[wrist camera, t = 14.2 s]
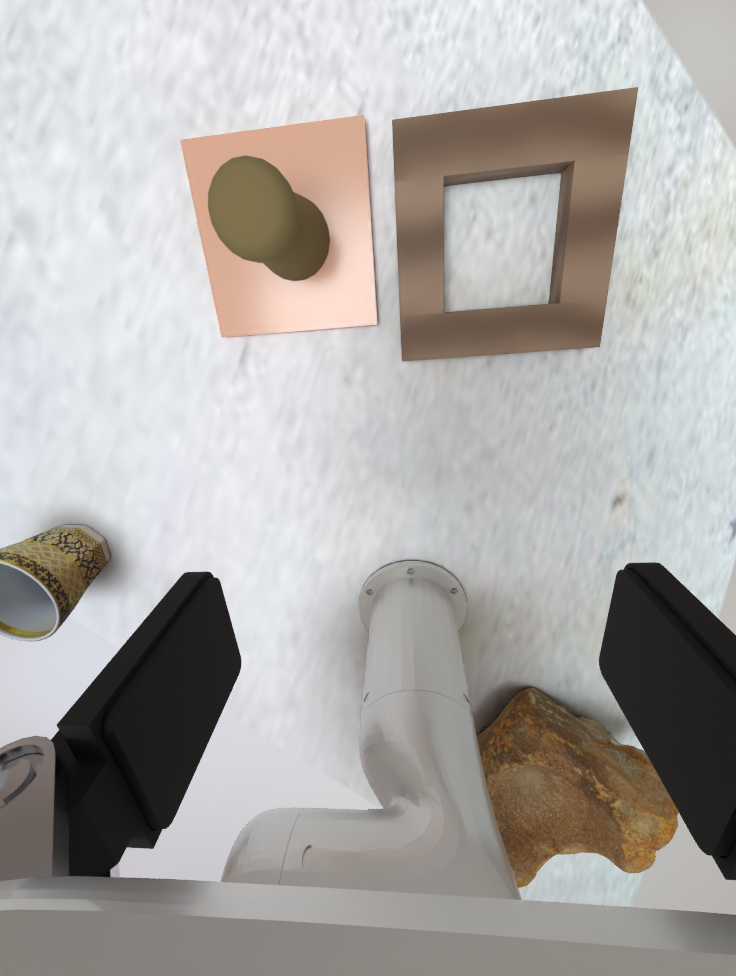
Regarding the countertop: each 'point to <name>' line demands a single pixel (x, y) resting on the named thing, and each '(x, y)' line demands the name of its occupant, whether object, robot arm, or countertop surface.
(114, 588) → the countertop surface
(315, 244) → the olive tall flared piece
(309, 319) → the terracotta tile
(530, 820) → the rough brown rock
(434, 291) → the frame
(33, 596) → the ceramic cup
